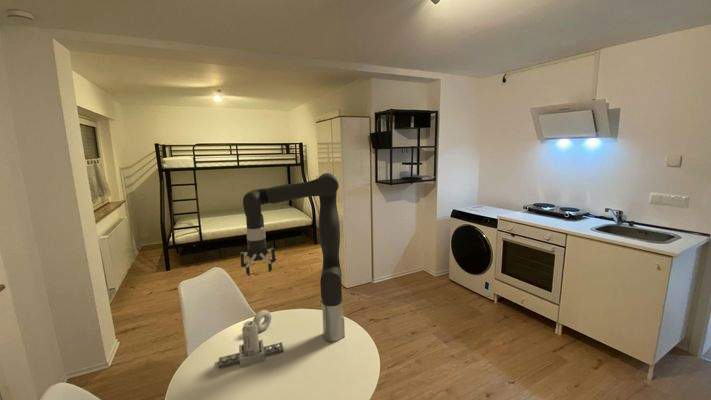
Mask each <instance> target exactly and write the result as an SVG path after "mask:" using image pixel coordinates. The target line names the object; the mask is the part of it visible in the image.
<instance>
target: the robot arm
mask: <svg viewBox="0 0 711 400" xmlns="http://www.w3.org/2000/svg"><path fill="white" fill-rule="evenodd" d="M339 187H340V185H339V180H338V178H337V177H336V176H335V175H334V174H332V173H329V172H325V173H322V174H321V175H319V177H317V178H315V179H312V180H310V181H309V180H308V181H305V182H297V183H289V184H281V185H276V186H271V187H267V188H259V189H257V188H256V189H252V190H250V191H248V192H247V193H245V194H244V196H243V197H242V208H243V211H244V216H245V220H246V241H247V242H246V243H247V251H241V252H240V266H241V268H245V274H246V275H248V276H251V272H250V265H251V264H252V263H253V262H256V261H257V262H258V261H263V260H264V261H265V262H266V263H267V268H268V269H267V270H268V272H269V273H271V271H273V266H272V265H273V263H275V262H276V261H277V259H276V254H275V249H274V247H271V248H267V240H266V239H267V238H266V237H267V235H266V228H265V219H264V215H263V213H262V207H261V206H262V205H267V204H273V205H275V204H279V203H285V202H288V201H293V200H294V201H295V200H298V199H303V198H304V199H305V198H309V197H319V198H318V199H319V214H318V238H319V244H320V249H321V253H322V270H321V275H320V282H319V283H320V296H321V297H320V298H321V309H322V330H323V331H322V332H323V333H322V334H323V339H324V340H326V341H327V342H338V341H341V340H342V339H343V338H345V337H346V333H345V330H346V329H345V327H346V326H345V317H344V314H343V310H344V309H343V289H342V277H343V276H342V275H343V274H342V269H341V263H340V244H341V226H340V216H339V211H338V206H337V197H338V196H337V194H338V190H339ZM268 253H269V254H270V255H271V259H270V257H268V256H267V254H268ZM246 256H248V260H247V261H246V262H245V260H244V259H245V258H247V257H246Z"/></svg>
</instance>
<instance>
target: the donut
mask: <svg viewBox="0 0 711 400" xmlns="http://www.w3.org/2000/svg"><path fill="white" fill-rule="evenodd" d="M262 319H264V320H263V322H261V320H262ZM252 321H255V322H256V325H257V326H258V332H263V331H265V330H267V329H268V328H269V327H270V324H271V322H272V314H271V312H270V311H268V310H267V309H262V310H260V311H258V312H257V313H256V314H255V315H254V317H253V320H252Z"/></svg>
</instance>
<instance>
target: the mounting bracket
mask: <svg viewBox="0 0 711 400" xmlns="http://www.w3.org/2000/svg"><path fill="white" fill-rule="evenodd" d="M263 341H264V340H263V339H259V350H260V353H256V354H253V355H249V356H245V355H244V356H243V354H245V353H244V343H242V344H238V345H239V346H238V348H239V349H238V351H239V352H236V353H233V354H230V355H229V354H228V355H225V356H222V357H218V370H221V369H224V368H229V367H233V366H236V365H239V366H240V368H243V367H246V366H250V365H253V364H257V363H260V362H264V361H266V358H267V357H270V356H274V355H278V354H283V353H285V350H284V346H283V342H278V343H273V344H270V345H266V346H264V342H263Z"/></svg>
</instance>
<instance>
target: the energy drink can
mask: <svg viewBox="0 0 711 400" xmlns="http://www.w3.org/2000/svg"><path fill="white" fill-rule="evenodd" d="M241 332H242V342H243V343H242V344H244V353H243V354H244V357H245V356H249V355H253V354H256V353H260V352H261V349H259V340H260V339H259V331H258V326H257V325H256V322H255V321H253V320H248V321H246V322H244V324H243V327H242V329H241Z"/></svg>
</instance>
